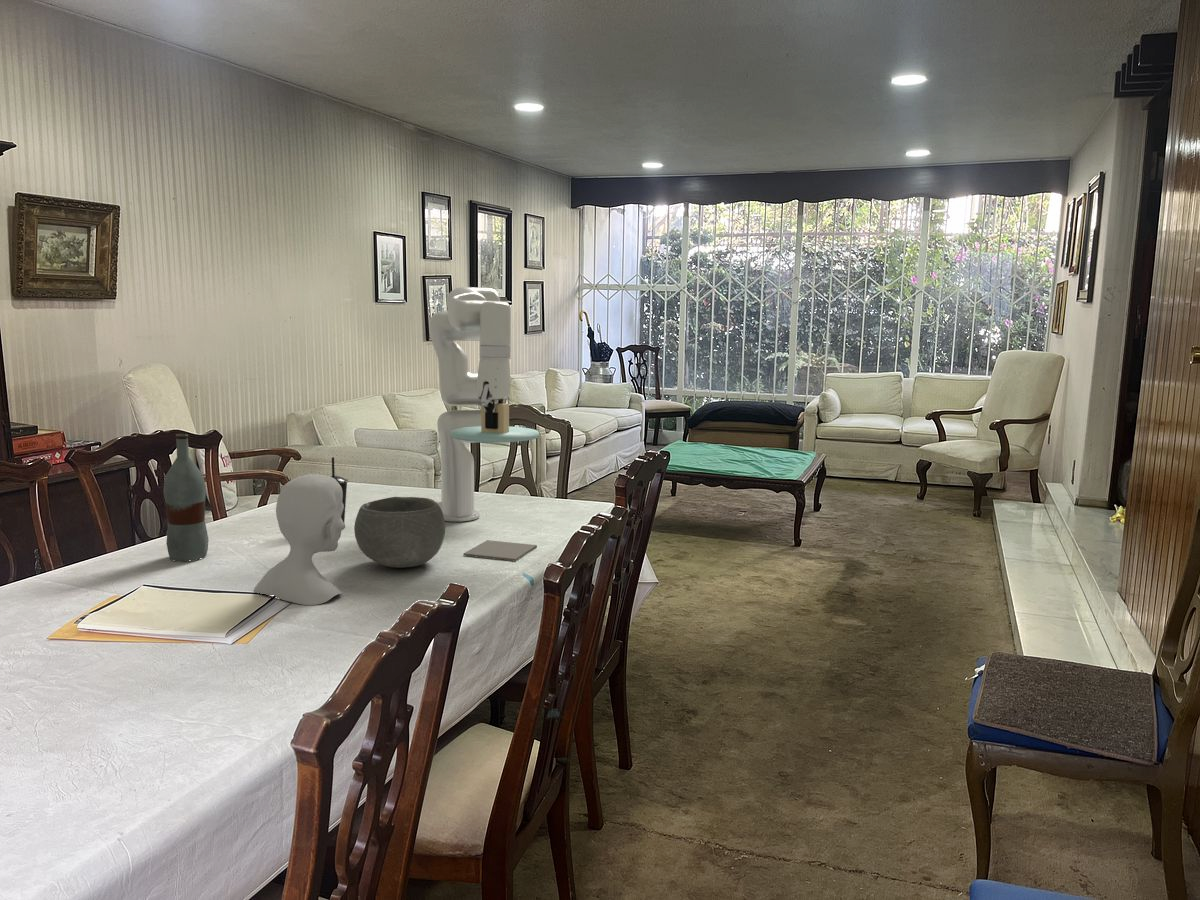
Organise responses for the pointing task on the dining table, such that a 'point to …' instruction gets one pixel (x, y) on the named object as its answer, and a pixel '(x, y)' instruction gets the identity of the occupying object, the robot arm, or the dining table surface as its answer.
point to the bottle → (185, 506)
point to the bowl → (400, 530)
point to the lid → (495, 435)
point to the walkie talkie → (343, 485)
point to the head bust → (306, 539)
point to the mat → (500, 550)
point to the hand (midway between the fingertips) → (495, 426)
